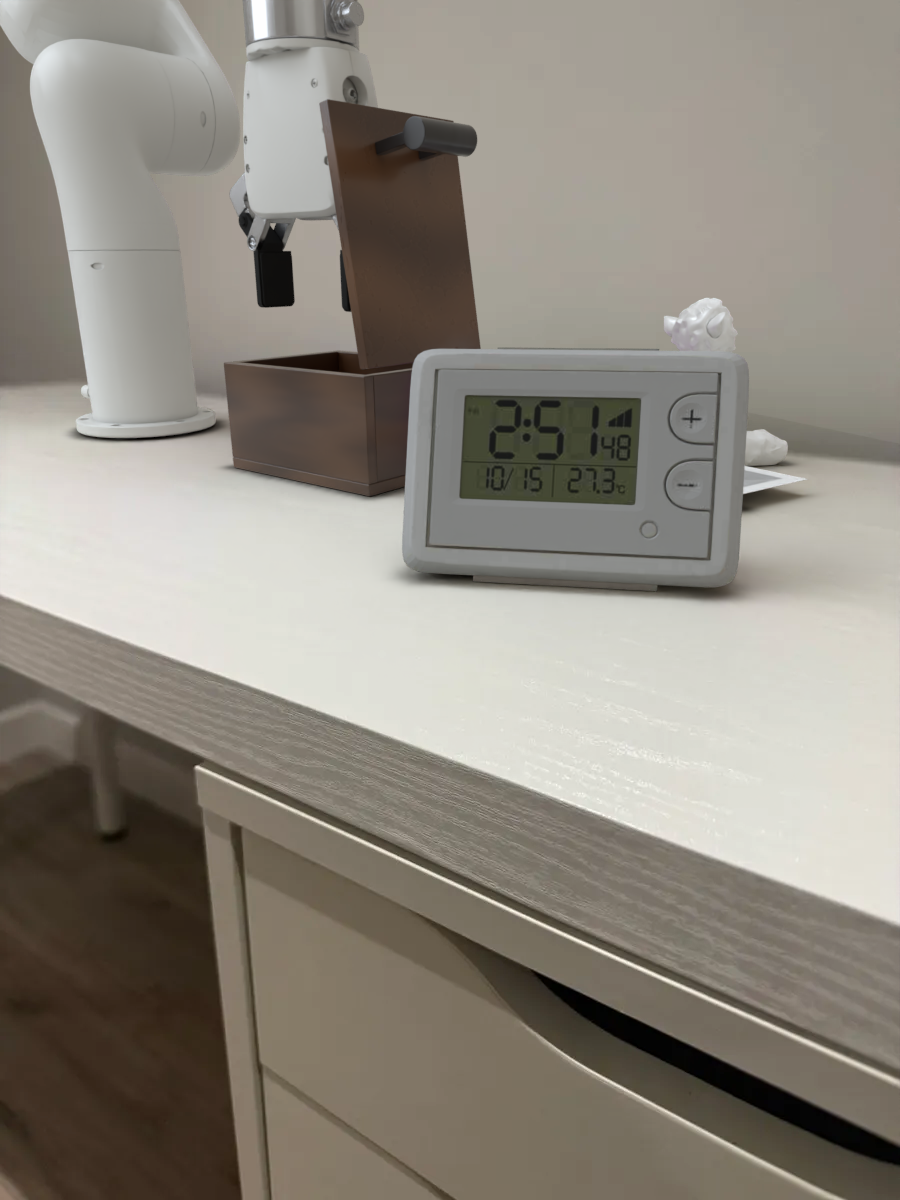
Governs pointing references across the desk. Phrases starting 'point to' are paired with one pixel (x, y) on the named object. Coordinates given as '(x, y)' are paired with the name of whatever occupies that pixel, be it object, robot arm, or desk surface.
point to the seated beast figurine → (714, 331)
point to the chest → (321, 420)
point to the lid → (402, 230)
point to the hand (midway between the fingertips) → (317, 308)
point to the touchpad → (765, 479)
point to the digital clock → (576, 466)
